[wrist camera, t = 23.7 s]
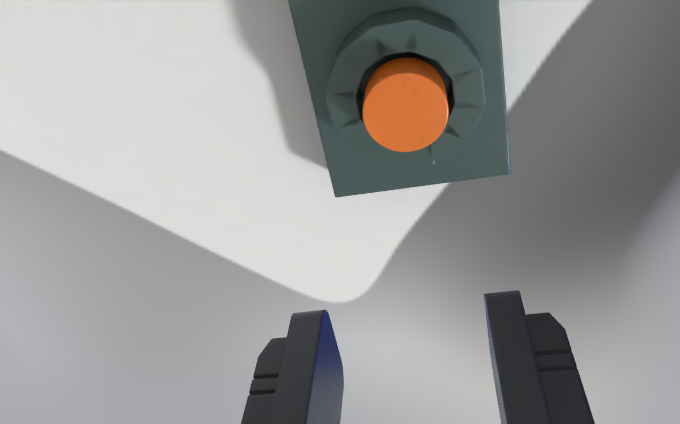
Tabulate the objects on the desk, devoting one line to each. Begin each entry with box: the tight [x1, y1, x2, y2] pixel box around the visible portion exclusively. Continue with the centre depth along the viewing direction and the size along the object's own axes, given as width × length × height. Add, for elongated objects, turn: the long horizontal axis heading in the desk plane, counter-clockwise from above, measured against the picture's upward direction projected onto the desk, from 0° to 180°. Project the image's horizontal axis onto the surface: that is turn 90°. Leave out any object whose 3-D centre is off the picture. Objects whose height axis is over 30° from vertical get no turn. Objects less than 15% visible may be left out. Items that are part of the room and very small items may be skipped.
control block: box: [288, 0, 511, 197], centre depth 27 cm, size 10×8×4 cm
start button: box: [363, 57, 449, 152], centre depth 25 cm, size 3×3×2 cm
